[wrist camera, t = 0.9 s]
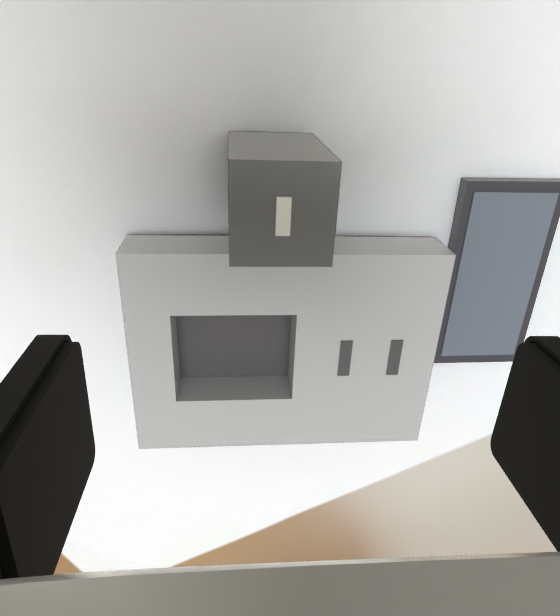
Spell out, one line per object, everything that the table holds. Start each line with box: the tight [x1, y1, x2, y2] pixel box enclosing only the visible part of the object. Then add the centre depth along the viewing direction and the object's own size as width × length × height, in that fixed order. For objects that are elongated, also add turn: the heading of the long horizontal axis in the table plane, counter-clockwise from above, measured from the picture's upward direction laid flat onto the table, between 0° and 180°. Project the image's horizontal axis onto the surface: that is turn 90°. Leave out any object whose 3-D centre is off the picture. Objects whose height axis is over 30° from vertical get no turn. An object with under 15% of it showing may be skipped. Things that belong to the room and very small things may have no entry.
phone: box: [434, 178, 560, 363], centre depth 31 cm, size 12×6×1 cm, turn 178°
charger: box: [228, 131, 342, 267], centre depth 24 cm, size 4×4×8 cm
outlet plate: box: [116, 235, 456, 449], centre depth 30 cm, size 13×18×3 cm
